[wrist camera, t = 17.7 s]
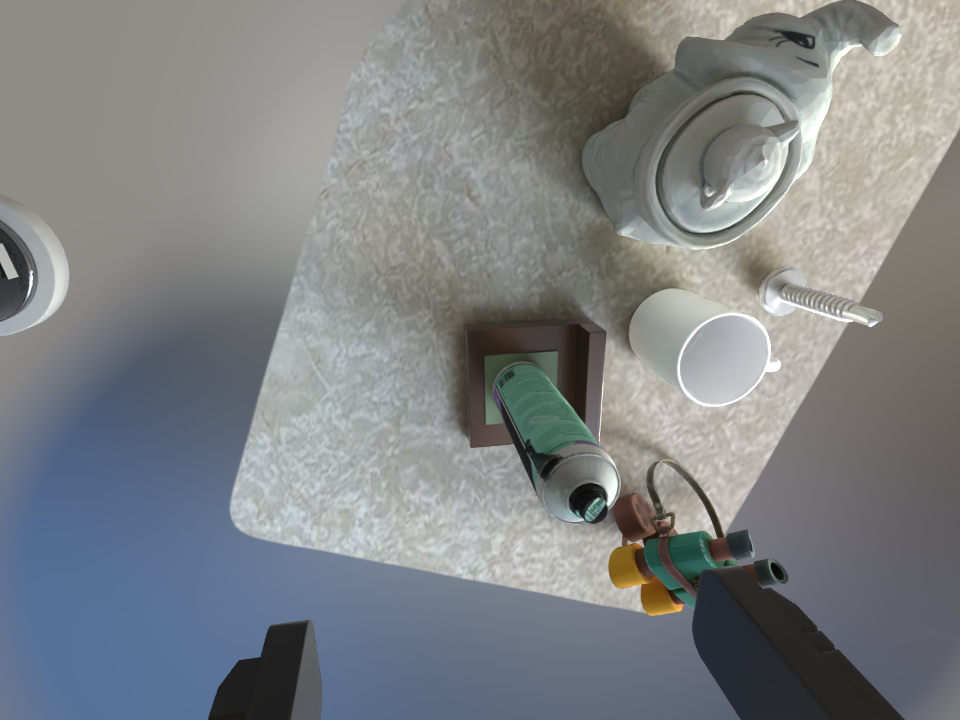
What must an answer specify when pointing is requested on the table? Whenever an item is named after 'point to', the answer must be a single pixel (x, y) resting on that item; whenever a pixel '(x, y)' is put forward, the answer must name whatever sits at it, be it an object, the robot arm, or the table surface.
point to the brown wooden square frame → (550, 345)
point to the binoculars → (676, 551)
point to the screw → (808, 298)
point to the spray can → (555, 446)
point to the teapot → (727, 126)
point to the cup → (701, 346)
